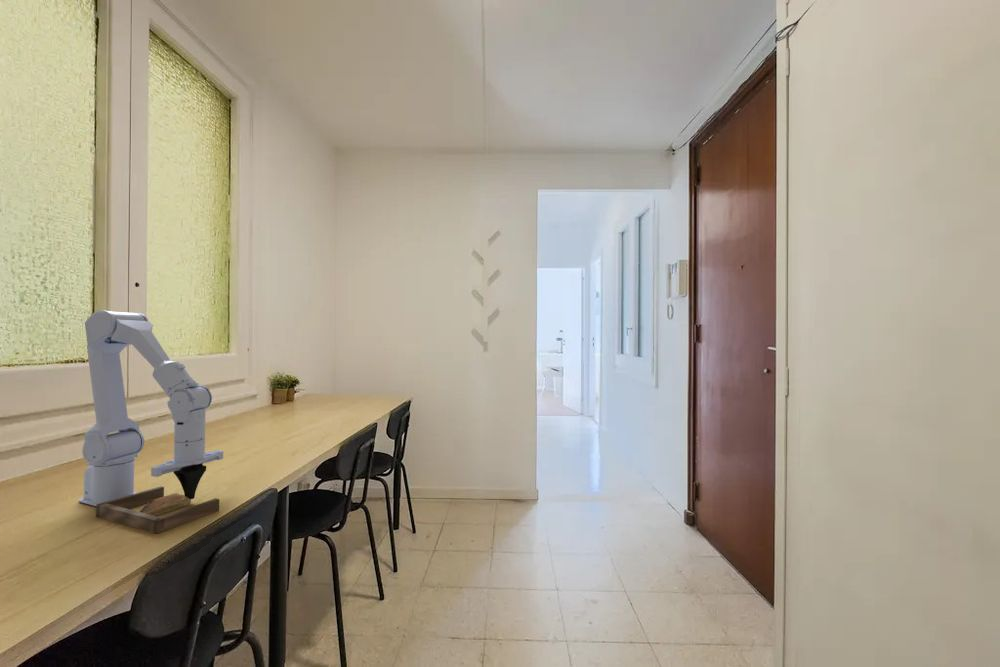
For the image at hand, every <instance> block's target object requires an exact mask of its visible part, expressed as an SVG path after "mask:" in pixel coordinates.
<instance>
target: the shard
mask: <svg viewBox="0 0 1000 667" xmlns="http://www.w3.org/2000/svg"><path fill="white" fill-rule="evenodd" d="M191 504H192V499H189V498H188V497H187V496H185V495H183V494H180V493H177V492H176V493H175V492H174V493H170V494H168V495H164V497H160V498H157V499H153V500H152V501H150V502H147V503H146V504H145V505H144V506H143V507H142V508H141V509H140V511H139V512H141V513H145V514H149V515H153V516H158V515H162V514H165V513H167V512H171V511H173V510H174V511H175V510H176V509H178V508H183V507H186V506H190V505H191Z"/></svg>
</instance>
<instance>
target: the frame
mask: <svg viewBox="0 0 1000 667" xmlns="http://www.w3.org/2000/svg"><path fill="white" fill-rule="evenodd" d="M164 496H165V486H162V485H161V486H157V487H153V488H149V489H146V490H143V491H140V492H137V493H135V494H132V495H128V496H125V497H121V498H118V499H114V500H111V501H107V502H104V503H100V504H97V505H96V506H95V508H96V509H95V517H97V518H100V519H103V520H107V521H110V522H115V523H117V524H122V525H125V526H128V527H132V528H135V529H139V530H141V531H145V532H149V533H153V534H156V535H158V534H160V533H163V532H166V531H168V530H171V529H173V528H176V527H179V526H181V525H182V526H183V525H184V524H186V523H189V522H192V521H195V520H199V519H200V518H204V517H206V516H207V515H211V514H214V513H216V512H219V511H220V498H216V497H215V498H213V499H210V500H206V501H204V502H200V503H198V504H195V505H192V506H189V507H187V508H184V509H183V508H182V509H181V510H178V511H174V512H171V513H170V514H167V515H163V516H158V515H155V516H153V515H149V514H145V513H141V512H140V511H137V510H134V509H131V508H134V507H137V506H140V505H144V504H148V503H149V502H150V501H152V500H153V499H157V498H160V497H164Z"/></svg>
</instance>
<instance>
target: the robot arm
mask: <svg viewBox="0 0 1000 667" xmlns="http://www.w3.org/2000/svg"><path fill="white" fill-rule="evenodd" d="M153 326H154V325H153V324H152V323H151V322H150V321H149V319H148V317H147V316H146V315H145V314H143V313H142V312H125V311H124V312H123V311H111V310H104V309H101V310H100V309H99V310H96V311H94V312H93V313H92V314H91V315H90V316H89V317H88V318H87V319H86V321H85V322H84V327H85V335H86V342H87V343H86V344H87V345H86V349H87V350H86V352H87V357H88V358H87V359H88V360H87V361H88V366H89V374H90V375H89V376H90V382H91V389H92V397H93V406H94V412H95V421H96V422H95V424H93V426H91V427H90V428H89V429H87V430H86V431H85V432H84V434H83V435H84V444H83V447H82V449H81V450H82V452H81V453H82V457H83V459H84V461H86V462H87V463H88V466H87V468H86V469H85V471H84V476H83V477H84V480H83V497H82V498H79V499H78V502H79V503H83V504H86V505H91V506H92V507H96V505H97V504H100V503H104V502H107V501H111V500H114V499H118V498H121V497H125V496H128V495H132V494H135V493H138V492H136V491H134V490H135V488H134V487H135V459H136V458H138V455H139V453H140V452H141V451H142V450H143V449H144V446H145V437H144V435H143V433H142V432H141V429H140V426H139V423H138V422H137V421H135V420H133V419H131V418H130V417H129V416H128V408H127V401H126V394H125V386H124V378H123V370H122V363H121V352H122V351H123V350H124V349H125V348H127V347H129V346H130V345H132V346H133V347H134V348H135V349H136V351H137V352H138V353H139V354H140V355H141V356H142V357H143V358H144V359H145V360H146V361H147V362H148V363H149V365H150V366H151V368H153V372H152V377H153V379H154V380H155V381H156V382H157V384H158V385H159V386H160V388H161V389H162V390H163V392H164V393H165V395H167V396H168V398H169V401H168V400H167V407H168V409H169V410H170V412H171V414H172V416H171V417H172V419H171V420H173V422H174V437H173V438H174V439H173V441H174V443H173V444H174V445H173V446H174V447H173V459H171V460H168V461H166V462H163V463H161V464H158V465H154V466H151V469H150V472H151V473H150V476H151V477H155V478H159V477H162V476H163V475H166V474H169V473H173V474H174V475H175V476H176V477H177V480H178V481H179V483H180V485H181V488H182V491H183V493H184V496H187V497H188V498H189V499H190V500H194V499H195V498H196V497H195V495H196V492H197V489H198V486H199V483H200V481H201V479H202V477H203V475H204V474H205V472H207V466H206V465H203V464H207V463H209V462H210V463H211V462H214V461H220V460H223V459H224V451H223V450H214V451H209V452H207V451H206V409H207V408H209V407H210V406H211V403H212V400H213V395H212V393H211V391H210V388H208V387H207V386H205V385H201V384H199V383H198V382H196V380H194V379H193V378H192V377H191V375H190V374H189V373H188V371H187V370H186V366H185V365H184V364H183V363H180V361H175V360H171V359H170V357H169V356H168V355H167V353H166V351H165V350H164V348H163V347H162V345H161V344H160V342H159V340H158V339H157V338H156V336H155V334H154V333H153V332H152V331H153Z"/></svg>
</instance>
